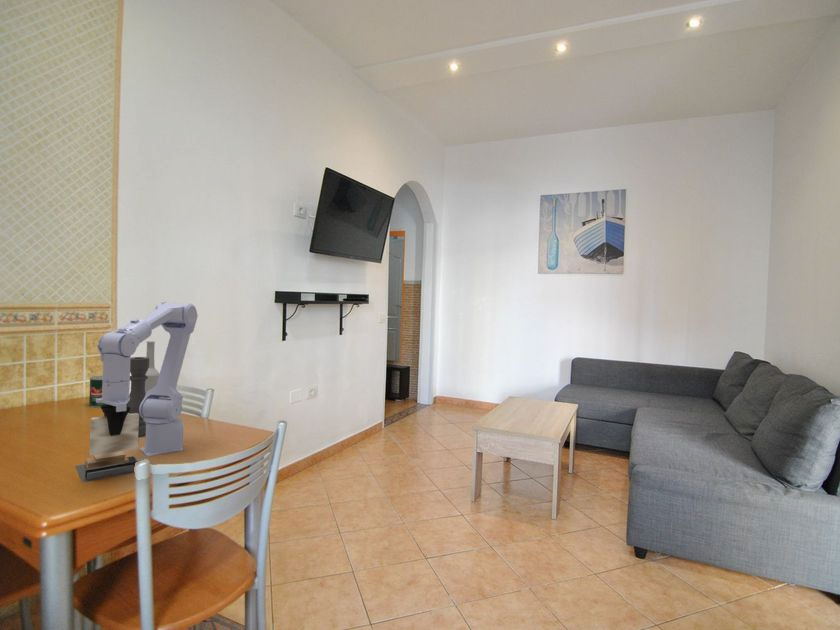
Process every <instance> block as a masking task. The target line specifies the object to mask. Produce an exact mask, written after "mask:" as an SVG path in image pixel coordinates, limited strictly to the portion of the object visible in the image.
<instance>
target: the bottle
mask: <svg viewBox="0 0 840 630" xmlns="http://www.w3.org/2000/svg"><path fill="white" fill-rule="evenodd" d="M155 343H156V341H153V340H152V341H151V340H148V341H146V355H145V357H148V358H149V368H148V371H147V372H146V374H145V375H146V376H148V379H146V381H145V392H147V391H149V390H150V389H152V388H154V387H155V386H156V385H157V381H158V378H159V374H160V372H159V371H158V370H157V368H156V366H155Z"/></svg>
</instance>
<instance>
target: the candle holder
mask: <svg viewBox="0 0 840 630" xmlns="http://www.w3.org/2000/svg"><path fill="white" fill-rule="evenodd" d="M148 368H149V358H148V357H146V356H133V357H131V359H130V391H129V397H130V401H129V402H128V403H127V404H128V406H127V407H130V408H131V409H130V411H129V413H128V414H132V413H138V414H139V430H138V439H139V438H143V437H144V438H146V422H144V418H142V417H141V416H140V413H139V407H140V404H141V402H142V401H143V399H144V397H145V395H146V392H145V381H146V379H148V376H146V375H145V374H146V372H147V371H148Z"/></svg>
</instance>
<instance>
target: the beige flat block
mask: <svg viewBox="0 0 840 630" xmlns="http://www.w3.org/2000/svg"><path fill="white" fill-rule="evenodd" d="M89 429H90V431H89V434H90V435H89V453H88V455H89V456H90V457H92V456H93V457H94V455H100V454H106V453H113V452H119V451H123V452H126V451H131V450H138V448H139V438H138V430H139V414H138V413H132V414H129V413H128V414H127V416H126V418H125V421H124V424H123V428H122V431H121V434H120V435H114V436H110V433H109V428H108V421H107V417H106V416H98V417H91V418H90V428H89Z"/></svg>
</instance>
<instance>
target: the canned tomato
mask: <svg viewBox="0 0 840 630" xmlns="http://www.w3.org/2000/svg"><path fill="white" fill-rule="evenodd" d="M102 380H103V375H98V376H92V377H90V378H89V403H88V406H89V407H91V408H101V407H100V406H102V405H108V404H105V403H97V402H96V399H99V398H102Z"/></svg>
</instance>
